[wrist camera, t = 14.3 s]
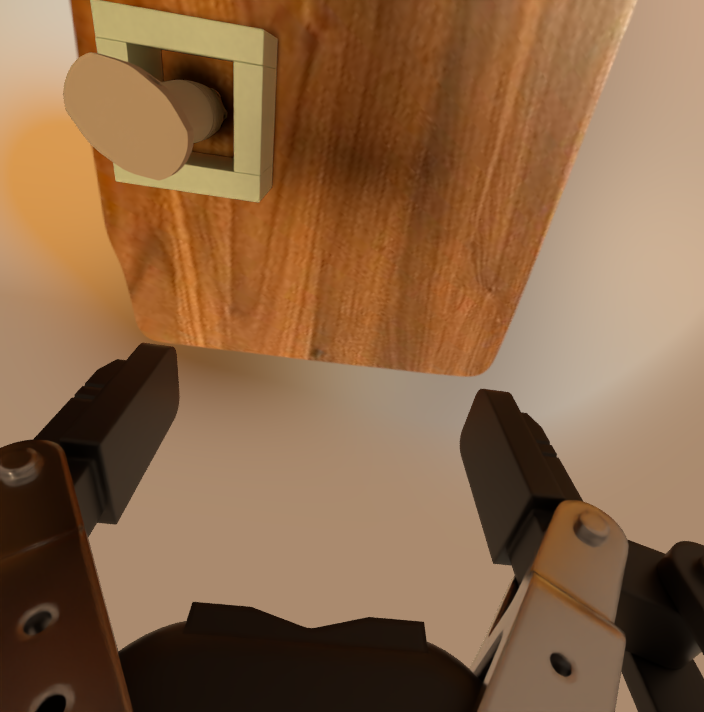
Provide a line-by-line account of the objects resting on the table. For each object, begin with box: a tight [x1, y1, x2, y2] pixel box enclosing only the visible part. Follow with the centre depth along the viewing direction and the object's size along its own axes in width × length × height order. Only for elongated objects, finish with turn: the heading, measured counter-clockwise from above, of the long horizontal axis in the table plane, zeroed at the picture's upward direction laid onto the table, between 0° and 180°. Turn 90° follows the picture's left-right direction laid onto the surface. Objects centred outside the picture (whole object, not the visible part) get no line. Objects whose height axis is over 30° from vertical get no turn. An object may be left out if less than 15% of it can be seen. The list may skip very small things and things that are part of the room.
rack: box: [90, 0, 278, 203], centre depth 33 cm, size 11×11×6 cm
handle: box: [63, 52, 227, 181], centre depth 29 cm, size 5×6×15 cm
